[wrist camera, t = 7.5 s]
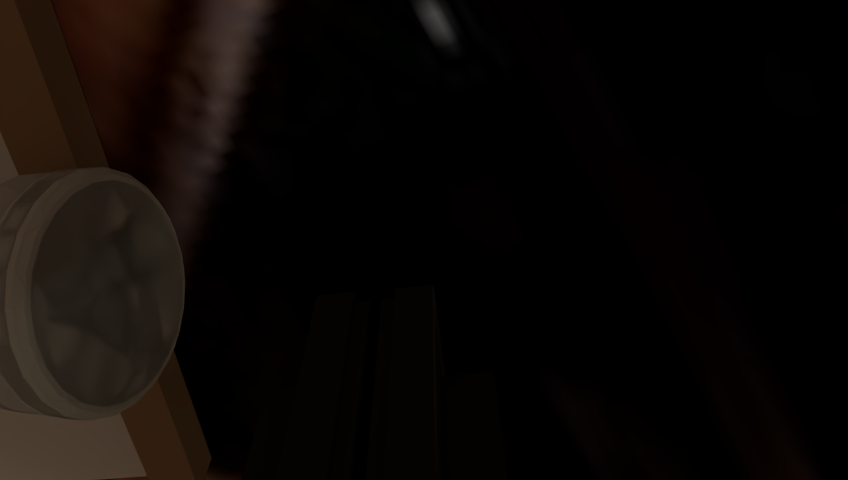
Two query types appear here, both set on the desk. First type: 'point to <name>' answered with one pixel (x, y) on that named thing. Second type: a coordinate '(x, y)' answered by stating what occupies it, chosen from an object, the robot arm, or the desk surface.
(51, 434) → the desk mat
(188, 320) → the desk surface
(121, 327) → the chess piece
